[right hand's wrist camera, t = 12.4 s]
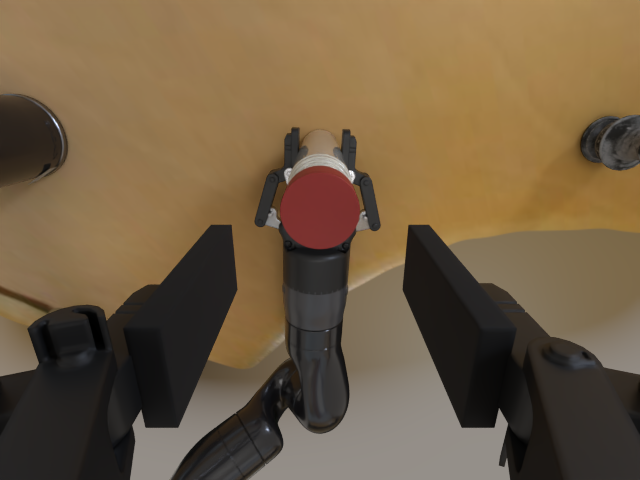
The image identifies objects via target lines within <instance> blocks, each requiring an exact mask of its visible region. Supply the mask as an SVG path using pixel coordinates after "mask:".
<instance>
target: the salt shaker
mask: <svg viewBox="0 0 640 480" xmlns="http://www.w3.org/2000/svg"><path fill="white" fill-rule="evenodd" d="M581 150H582V153H583V155H584V157H586V158H587V159H588V160H590V161H592V162H597V163H601V162H602V163H603V164H604V165H605V166H606V167H608V168H610V169H612V170H619V171H620V170H627V169H630V168H633V167H635V166H636V165H638V164H640V115H630V116H626V117H623V118H621V119H620V118H618V117H613V116H608V117H603V118H601V119H598V120H597V121H595V122H594V123H592V124H591V125H590V126H589V127H588V128H587V130H586V131H585V133H584V135H583V137H582V140H581Z"/></svg>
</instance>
